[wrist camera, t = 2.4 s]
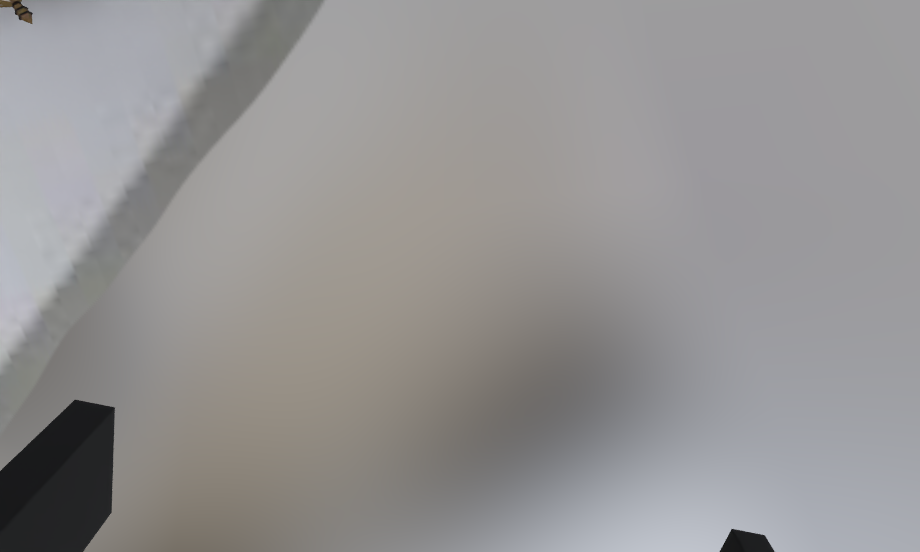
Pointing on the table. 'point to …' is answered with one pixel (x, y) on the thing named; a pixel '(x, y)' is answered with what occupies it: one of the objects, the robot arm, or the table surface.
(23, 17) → the game die
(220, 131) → the table surface
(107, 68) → the table surface
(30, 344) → the table surface
